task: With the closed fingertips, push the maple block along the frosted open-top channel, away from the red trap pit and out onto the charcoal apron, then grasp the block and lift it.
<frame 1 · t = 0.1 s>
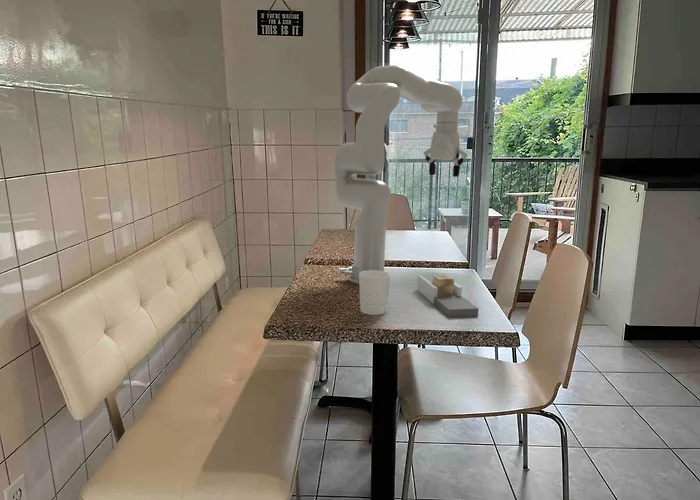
hand: (443, 175, 198), 31 cm above the table, tool pointing down, fingers open, 9 cm apart
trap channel: (445, 302, 149), on the table
white cup: (373, 311, 140), on the table
maple block: (442, 292, 151), point 2 cm above the table, touching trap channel
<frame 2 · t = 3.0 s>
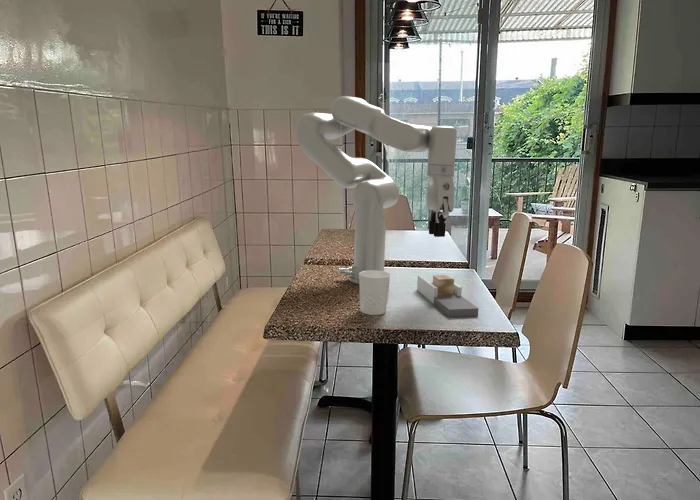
hand: (436, 234, 155), 17 cm above the table, tool pointing down, fingers open, 3 cm apart
nothing on the table moved.
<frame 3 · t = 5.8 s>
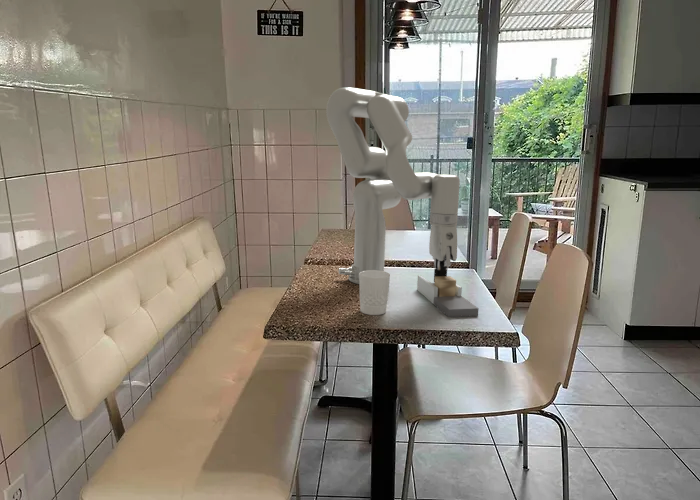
hand: (440, 282, 153), 4 cm above the table, tool pointing down, fingers closed
maple block: (444, 294, 150), point 2 cm above the table, touching gripper, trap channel
everything else where it was.
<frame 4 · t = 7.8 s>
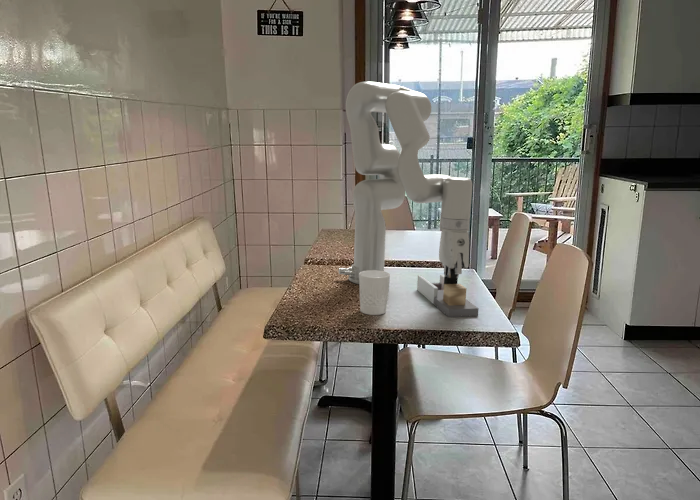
hand: (450, 291, 146), 4 cm above the table, tool pointing down, fingers closed
maple block: (454, 302, 142), point 2 cm above the table, touching gripper, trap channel
everything else where it was.
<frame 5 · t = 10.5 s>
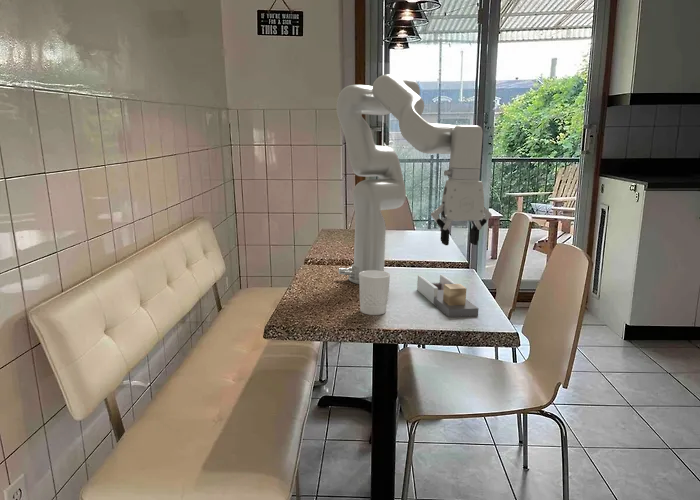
hand: (459, 243, 139), 18 cm above the table, tool pointing down, fingers open, 7 cm apart
maple block: (454, 302, 142), point 2 cm above the table, touching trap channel
everything else where it was.
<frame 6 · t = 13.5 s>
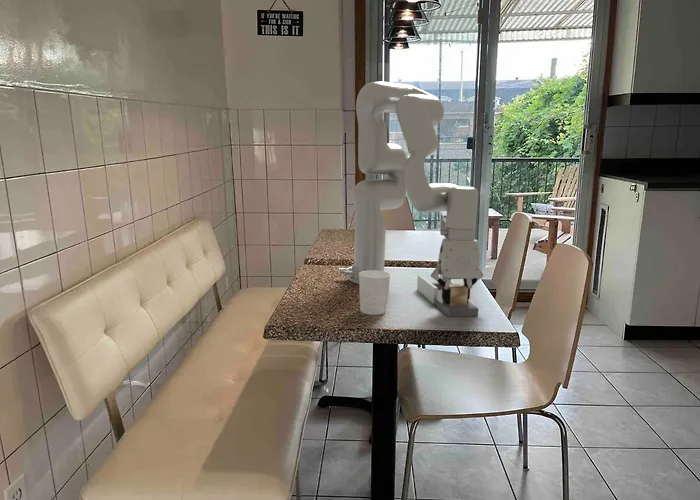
hand: (455, 301, 142), 2 cm above the table, tool pointing down, fingers closed on maple block, 4 cm apart
maple block: (455, 302, 142), point 2 cm above the table, touching gripper, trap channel
everything else where it was.
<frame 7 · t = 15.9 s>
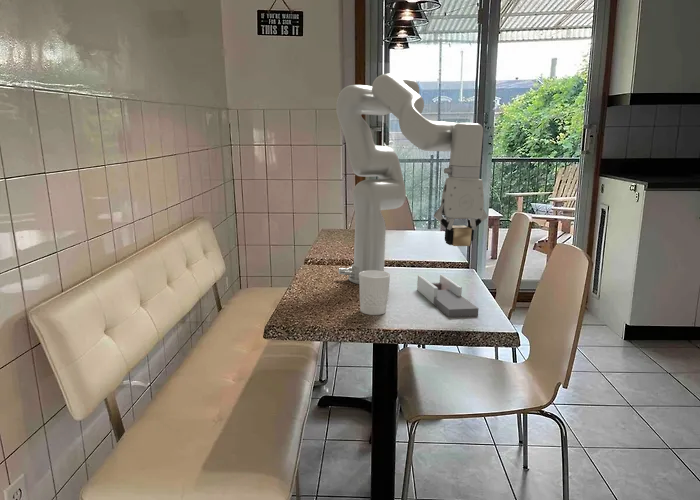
hand: (458, 243, 139), 18 cm above the table, tool pointing down, fingers closed on maple block, 4 cm apart
maple block: (458, 244, 139), point 18 cm above the table, touching gripper
everything else where it was.
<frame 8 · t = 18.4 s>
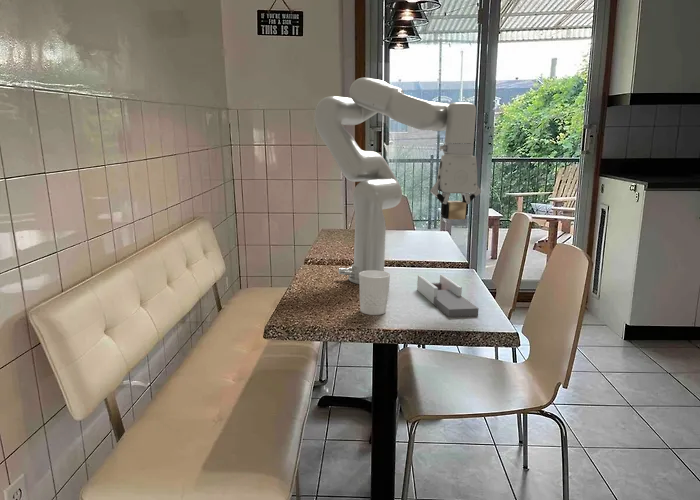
hand: (453, 217, 147), 23 cm above the table, tool pointing down, fingers closed on maple block, 4 cm apart
maple block: (454, 218, 147), point 23 cm above the table, touching gripper
everything else where it was.
at the end: the gripper is holding maple block; maple block point 23.1 cm above the table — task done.
